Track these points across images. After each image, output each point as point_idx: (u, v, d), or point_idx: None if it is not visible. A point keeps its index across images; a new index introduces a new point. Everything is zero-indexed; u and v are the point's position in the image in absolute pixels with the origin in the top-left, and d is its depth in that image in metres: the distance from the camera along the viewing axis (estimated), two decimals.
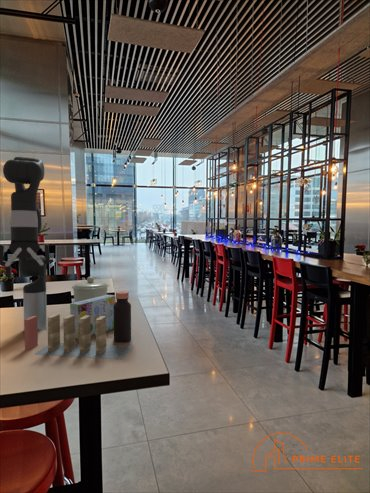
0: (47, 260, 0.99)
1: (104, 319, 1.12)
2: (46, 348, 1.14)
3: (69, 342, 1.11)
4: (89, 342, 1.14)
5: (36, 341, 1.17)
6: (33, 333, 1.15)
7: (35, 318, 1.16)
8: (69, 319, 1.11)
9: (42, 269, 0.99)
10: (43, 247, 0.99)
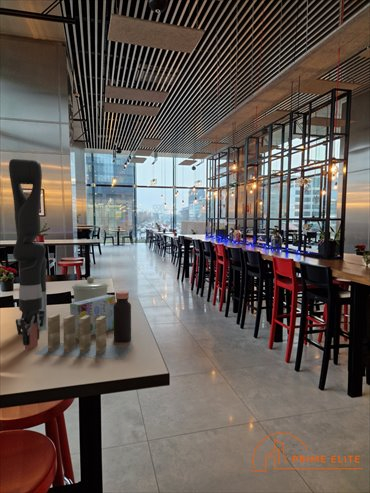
0: (42, 324, 1.20)
1: (104, 319, 1.12)
2: (46, 348, 1.14)
3: (69, 342, 1.11)
4: (89, 342, 1.14)
5: (36, 341, 1.17)
6: (33, 333, 1.15)
7: None
8: (69, 319, 1.11)
9: (38, 332, 1.19)
10: (40, 313, 1.20)
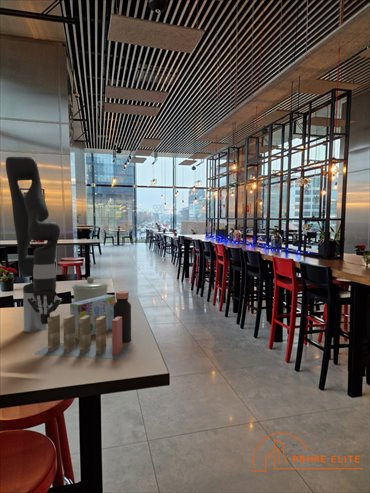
0: None
1: (104, 319, 1.12)
2: (46, 348, 1.14)
3: (69, 342, 1.11)
4: (89, 342, 1.14)
5: (121, 343, 1.13)
6: (119, 334, 1.11)
7: (120, 319, 1.12)
8: (69, 319, 1.11)
9: None
10: None
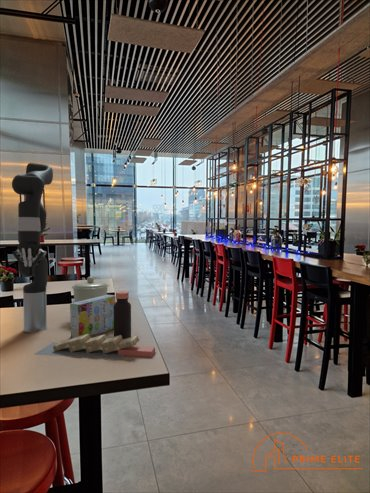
0: None
1: None
2: (46, 348, 1.14)
3: None
4: None
5: None
6: None
7: None
8: None
9: None
10: None
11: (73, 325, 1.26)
